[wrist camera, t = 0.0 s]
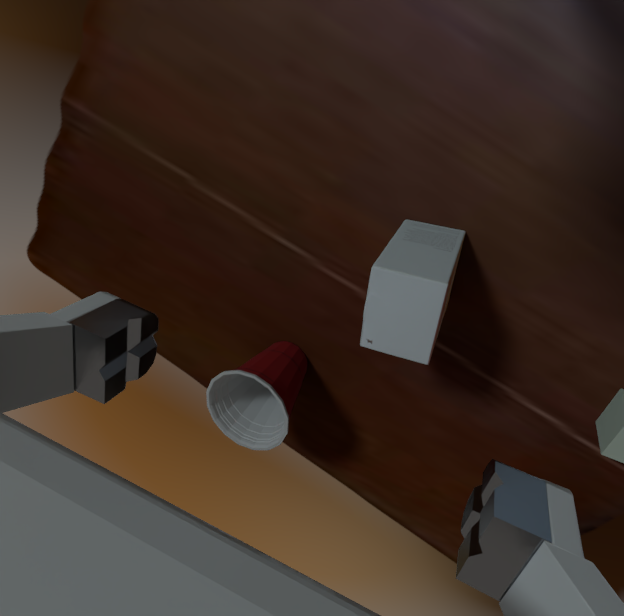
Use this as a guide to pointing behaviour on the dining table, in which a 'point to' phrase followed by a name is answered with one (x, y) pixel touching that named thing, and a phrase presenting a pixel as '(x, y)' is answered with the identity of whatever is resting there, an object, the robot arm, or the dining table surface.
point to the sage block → (612, 428)
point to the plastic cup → (258, 396)
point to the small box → (411, 290)
